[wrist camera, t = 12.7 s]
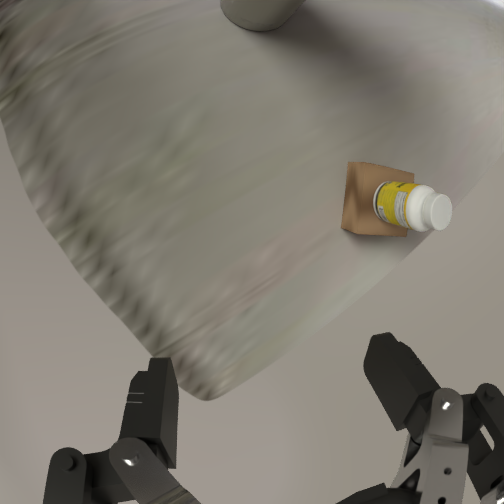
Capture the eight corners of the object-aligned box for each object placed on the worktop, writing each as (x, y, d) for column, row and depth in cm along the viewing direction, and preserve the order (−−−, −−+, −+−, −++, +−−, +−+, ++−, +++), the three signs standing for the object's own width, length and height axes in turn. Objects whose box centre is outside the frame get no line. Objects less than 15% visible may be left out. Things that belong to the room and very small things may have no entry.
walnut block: (348, 162, 37) (365, 162, 33) (396, 172, 39) (414, 173, 35) (341, 227, 39) (357, 234, 35) (389, 230, 41) (406, 236, 38)
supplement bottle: (404, 186, 35) (459, 195, 26) (396, 224, 36) (449, 241, 27) (376, 175, 34) (432, 182, 25) (367, 217, 35) (422, 234, 26)
